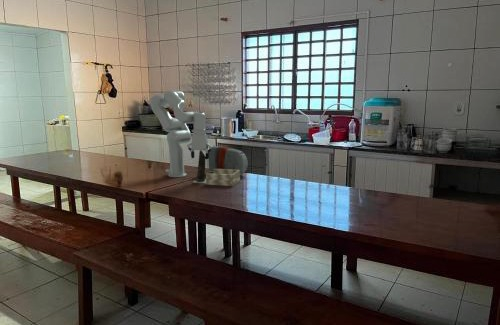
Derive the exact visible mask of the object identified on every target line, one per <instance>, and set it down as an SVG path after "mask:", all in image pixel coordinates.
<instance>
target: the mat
mask: <svg viewBox="0 0 500 325" xmlns="http://www.w3.org/2000/svg"><path fill="white" fill-rule="evenodd" d="M192 183H194V184H206V178H205V181H204V182H197V181H196V180H195V179H194V180H193V181H192Z"/></svg>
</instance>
